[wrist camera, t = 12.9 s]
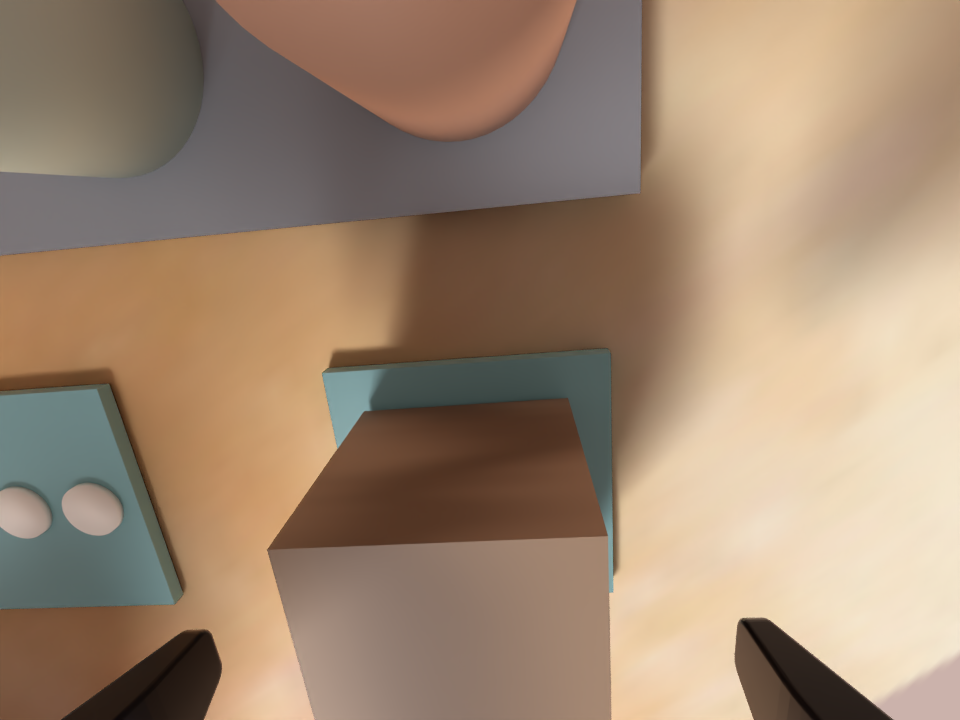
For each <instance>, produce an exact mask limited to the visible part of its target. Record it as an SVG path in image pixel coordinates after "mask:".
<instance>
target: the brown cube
mask: <svg viewBox="0 0 960 720" xmlns="http://www.w3.org/2000/svg"><path fill="white" fill-rule="evenodd" d="M267 551H268V554H269V558H270V561H271V565H272V569H273V572H274V576H275V579H276V583H277V586H278V590H279V594H280V597H281V601H282V604H283V608H284V611H285V615H286V619H287V622H288V626H289V629H290V633H291V637H292V640H293V644H294V647H295V651H296V654H297V658H298V662H299V665H300V669H301V672H302V676H303V679H304V683H305V687H306V690H307V694H308V697H309V701H310V704H311V708H312V712H313V715H314V719H315V720H611V671H610V615H609V559H608V534H607V531H606V527H605V524H604V520H603V517H602V513H601V510H600V506H599V503H598V500H597V496H596V493H595V489H594V486H593V482H592V479H591V475H590V472H589V468H588V465H587V462H586V458H585V455H584V451H583V448H582V444H581V441H580V437H579V434H578V430H577V427H576V424H575V420H574V417H573V413H572V410H571V406H570V403H569V399H568V398H560V399H544V400H529V401H513V402H498V403H483V404H467V405H452V406H437V407H421V408H406V409H390V410H375V411H364V412H363V413H362V415H361V416H360V418H359V419H358V420H357V422H356V423H355V425H354V426H353V428H352V429H351V430H350V432H349V433H348V435H347V436H346V438H345V439H344V441H343V442H342V443H341V445H340V446H339V448H338V449H337V451H336V452H335V453H334V455H333V456H332V458H331V459H330V461H329V462H328V463H327V465H326V466H325V468H324V469H323V471H322V472H321V473H320V475H319V476H318V478H317V479H316V481H315V482H314V484H313V485H312V486H311V488H310V489H309V491H308V492H307V494H306V495H305V496H304V498H303V499H302V501H301V502H300V504H299V505H298V506H297V508H296V509H295V511H294V512H293V514H292V515H291V516H290V518H289V519H288V521H287V522H286V524H285V525H284V527H283V528H282V529H281V531H280V532H279V534H278V535H277V537H276V538H275V539H274V541H273V542H272V544H271V545H270V547H269V548H268V549H267Z"/></svg>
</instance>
